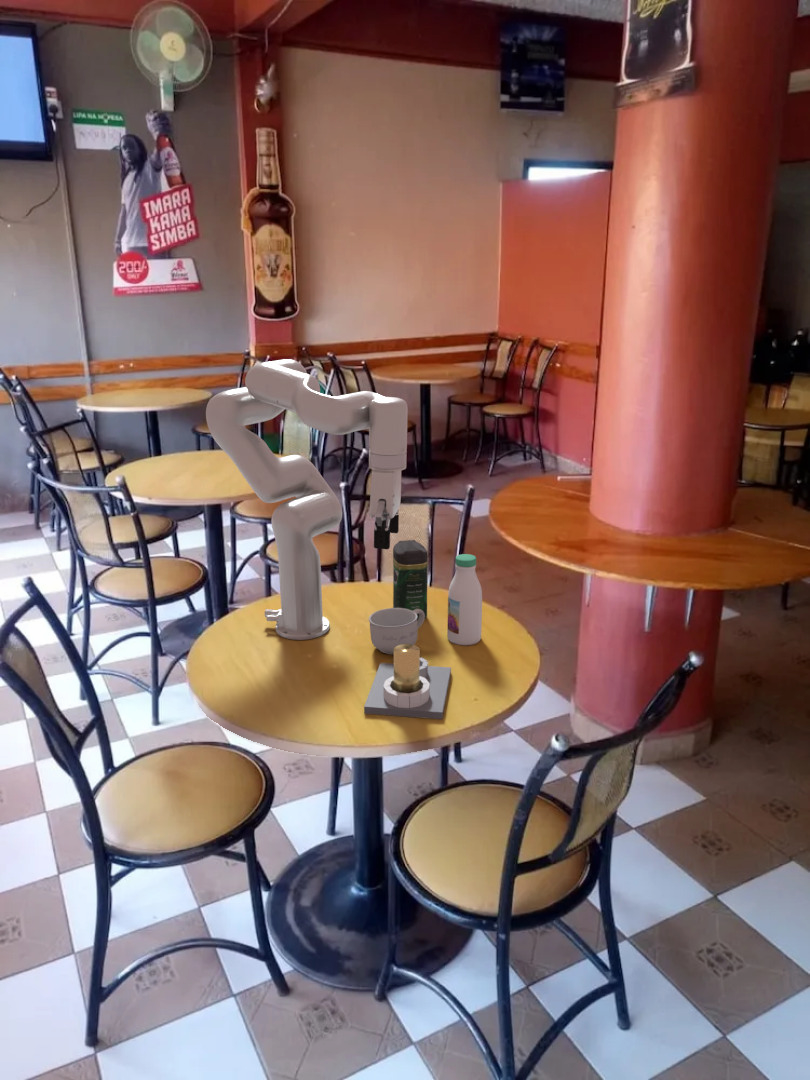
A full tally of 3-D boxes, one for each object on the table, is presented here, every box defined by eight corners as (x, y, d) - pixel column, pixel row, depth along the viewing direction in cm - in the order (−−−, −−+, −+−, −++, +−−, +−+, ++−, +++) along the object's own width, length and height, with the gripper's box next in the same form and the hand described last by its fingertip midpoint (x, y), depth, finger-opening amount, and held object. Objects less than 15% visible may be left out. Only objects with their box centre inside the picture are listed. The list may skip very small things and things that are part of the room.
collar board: (364, 713, 157) (363, 695, 156) (380, 669, 174) (380, 652, 173) (442, 719, 155) (442, 700, 154) (450, 673, 172) (451, 656, 171)
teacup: (382, 663, 176) (382, 630, 174) (361, 643, 185) (360, 611, 183) (438, 650, 182) (439, 617, 180) (415, 631, 191) (415, 599, 189)
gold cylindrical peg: (391, 701, 158) (391, 654, 155) (395, 688, 163) (395, 643, 160) (417, 703, 158) (418, 656, 154) (420, 690, 162) (421, 645, 159)
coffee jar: (430, 622, 196) (431, 549, 190) (398, 625, 194) (397, 551, 188) (421, 606, 205) (421, 536, 199) (390, 609, 203) (389, 538, 197)
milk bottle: (481, 632, 191) (483, 551, 184) (480, 647, 184) (483, 563, 177) (448, 630, 192) (449, 550, 185) (446, 645, 184) (447, 562, 178)
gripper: (378, 448, 173) (377, 525, 179) (359, 470, 157) (359, 553, 162) (413, 451, 171) (411, 528, 177) (398, 472, 155) (396, 556, 161)
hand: (386, 540), depth 170 cm, fingers open, 9 cm apart
